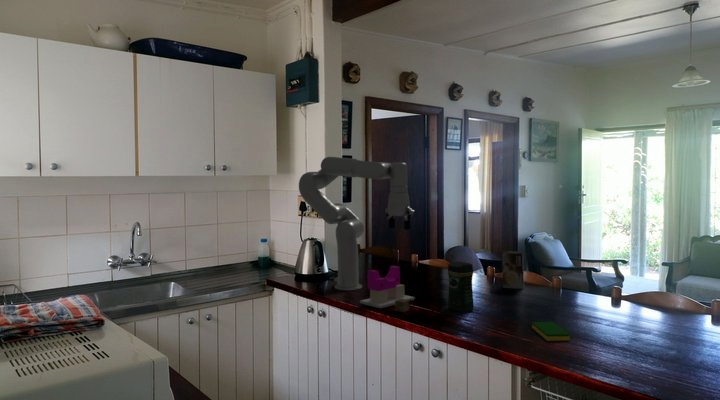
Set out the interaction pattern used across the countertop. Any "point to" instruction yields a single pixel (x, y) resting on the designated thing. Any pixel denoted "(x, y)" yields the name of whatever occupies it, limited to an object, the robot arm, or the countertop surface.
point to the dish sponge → (550, 331)
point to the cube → (402, 305)
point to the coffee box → (513, 270)
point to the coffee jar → (460, 286)
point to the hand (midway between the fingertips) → (399, 228)
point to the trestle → (386, 297)
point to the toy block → (383, 279)
